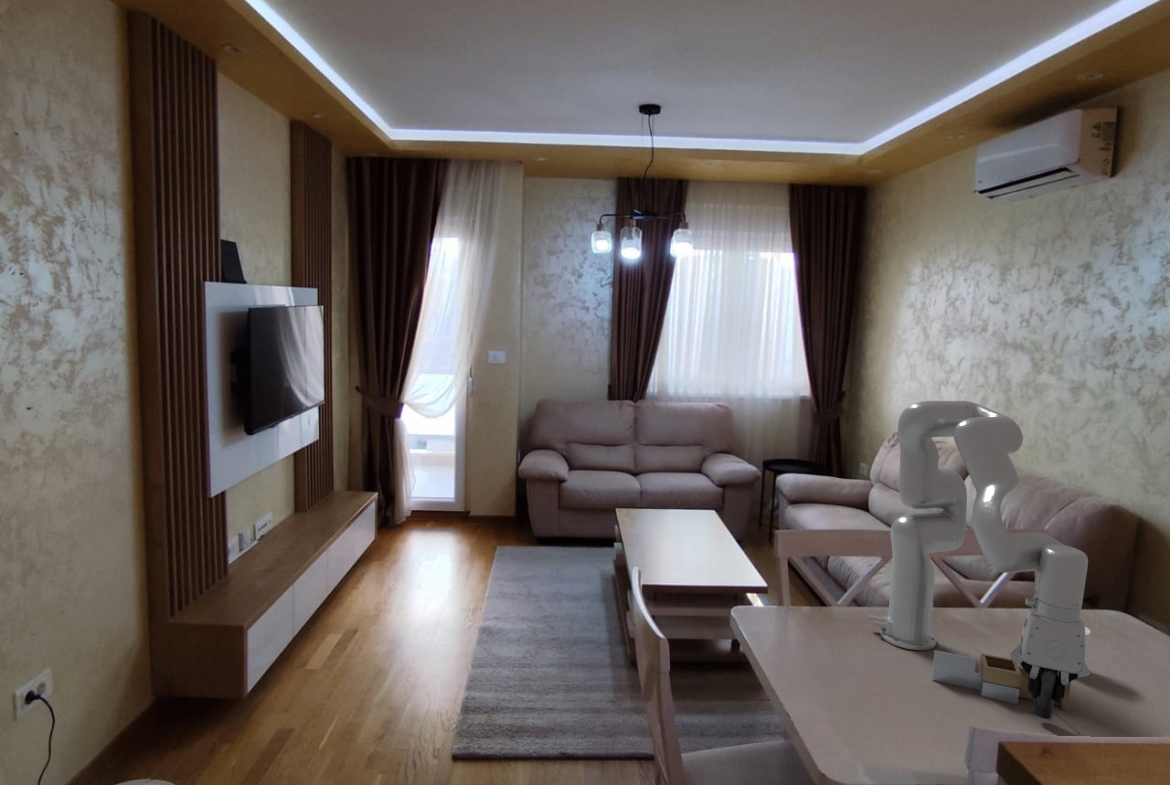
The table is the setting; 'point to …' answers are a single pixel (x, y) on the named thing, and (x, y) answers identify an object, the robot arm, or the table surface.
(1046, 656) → the robot arm
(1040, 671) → the pin
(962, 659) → the fixed leaf
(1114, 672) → the table surface
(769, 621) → the table surface
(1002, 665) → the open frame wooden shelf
